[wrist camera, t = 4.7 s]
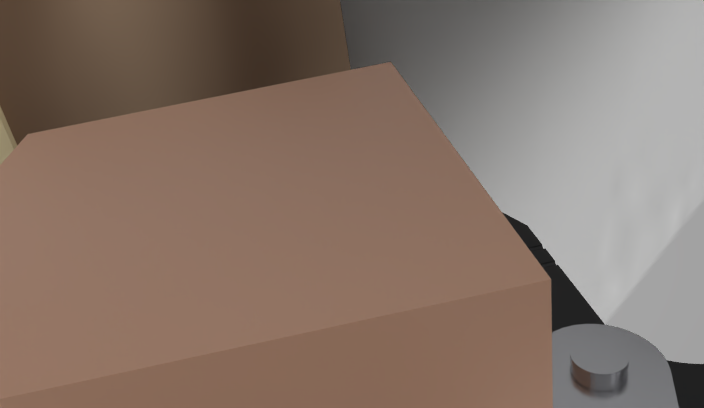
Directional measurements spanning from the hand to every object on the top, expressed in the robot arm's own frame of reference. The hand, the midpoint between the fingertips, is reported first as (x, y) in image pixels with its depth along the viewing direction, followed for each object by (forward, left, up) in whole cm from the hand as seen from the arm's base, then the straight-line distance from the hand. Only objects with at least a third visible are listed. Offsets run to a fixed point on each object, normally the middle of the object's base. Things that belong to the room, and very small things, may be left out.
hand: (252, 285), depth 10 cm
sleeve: (0, 0, -1) cm, 1 cm away
